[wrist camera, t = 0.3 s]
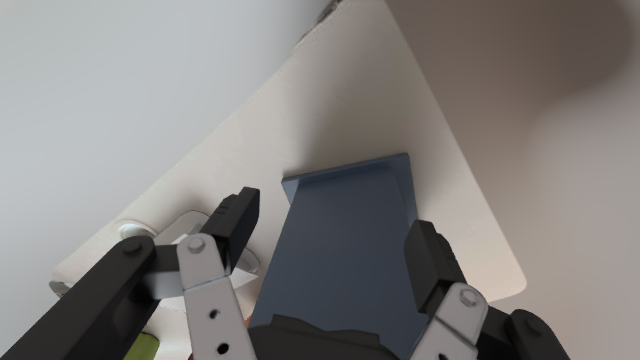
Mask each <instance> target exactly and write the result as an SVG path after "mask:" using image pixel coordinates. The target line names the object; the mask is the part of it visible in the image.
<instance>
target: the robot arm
mask: <svg viewBox="0 0 640 360" xmlns="http://www.w3.org/2000/svg"><path fill="white" fill-rule="evenodd" d="M259 205H260V190H259V189H256V188H250V187H243V189H242V190H241V192H240V193H239V195H235V194H232V195H230V196H228V197H227V198H225V199H223V201H222V202H221V203H220V205H219V207H217V209H216V210H215V211H214V213H213V214H212V215H211V216H210V218H209V219H208V220H207V222H206V223H205V224H204V226H203V227H202V228H201V229H200V231H199V232H198V233H196V234H192V235H189V236H187V237H185V238H184V239H182V240H181V241H180V242H179V244H170V245H155V243H154V241H153V239H151V238H150V237H147V236H133V237H129V238H126V239H124V240H122V241H120V242H119V243H117V244H116V245H115V246H114V247H113V248H112V249H111V250H109V251H108V252H107V253H106V254H105V255H104V256H103V257H102V258H101V259H100V260H99V261H98V262H97V263H96V264H95V265H94V266H93V267H92V268H91V269H90V270H89V271H88V272H87V273H86V274H85V275H84V276H83V277H82V278H81V279H80V280H79V281H78V282H77V283H76V284H75V285H74V286H73V287H72V288H71V289H70V290H69V291H68V292H67V293H66V294H65V295H64V296H63V297H62V298H61V299H60V300H59V301H58V302H57V303H56V304H55V305H54V306H53V307H52V308H51V309H50V310H49V311H48V312H47V313H46V314H45V315H43V316H42V317H41V319H39V320H38V321H37V322H36V323H35V325H33V326H32V327H31V328H30V329H29V330H28V331H27V332H26V333H25V334H24V335H23V336H22V337H21V338H20V339H19V340H18V341H17V342H16V343H15V344H14V345H13V346H12V347H11V348H10V349H9V350H8V351H7V352H6V353H5V354H4V355H3V356H2V357H1V358H0V360H123V359H124V358H125V356H126V355H127V353H128V352H129V350H130V349H131V347H132V345H133V344H134V342H135V341H136V339H137V338H138V336H139V334H140V333H141V331H142V330H143V328H144V327H145V325H146V323H147V322H148V320H149V319H150V317H151V316H152V314H153V312H154V311H155V309H156V308H157V306H158V305H159V303H160V301H161V300H162V299H163V298H172V297H181V296H184V302H185V309H186V315H187V321H188V327H189V334H190V340H191V346H192V352H193V359H194V360H401V359H400V358H399V357H398V356H397V355H396V354H395V353H394V352H392V351H391V350H390V349H388V348H387V347H385V346H384V345H382V344H380V337H379V334H376V333H371V332H366V331H360V330H355V329H348V330H335V331H324V330H322V329H320V328H318V327H316V326H314V325H312V324H310V323H308V322H305V321H303V320H301V319H299V318H294V317H289V316H284V315H279V314H274V313H273V317H272V320H271V322H265V323H260V324H257V325H254V326H252V327H249V328H246V325H245V322H244V319H243V316H242V313H241V310H240V307H239V304H238V301H237V298H236V295H235V292H234V289H233V286H232V283H231V280H230V277H229V275H230V276H231V274H232V272H233V270H234V268H235V266H236V264H237V262H238V260H239V258H240V256H241V254H242V252H243V250H244V248H245V246H246V244H247V242H248V240H249V238H250V236H251V234H252V232H253V230H254V228H255V226H256V224H257V221H258V218H259ZM404 256H405V260H406V265H407V269H408V273H409V277H410V282H411V286H412V290H413V294H414V299H415V303H416V307H417V311H418V313H422V314H427V315H428V318H429V320H428V322H427V323H426V325H425V327H424V328H423V330H422V332H421V333H420V335H419V337H418V339H417V340H416V342H415V344H414V345H413V347H412V349H411V350H410V352H409V354H408V355H407V357H406V359H405V360H476V359H477V360H570V358H569V357H568V355H567V353H566V352H565V350H564V349H563V347H562V345H561V344H560V343H559V341H558V339H557V337H556V336H555V334H554V332H553V331H552V330H551V328H550V327H549V326H548V325H547V324H546V323H545V322H544V321H543V320H541V318H539V317H538V316H536V315H535V314H533V313H531V312H529V311H526V310H522V309H516V310H514V311H513V312H512V313H511V314H510V315H509V314H507V313H504V312H502V311H500V310H498V309H496V308H493V307H491V306H489V305H488V303H487V301H486V299H485V298H484V297H483V295H482V294H481V293H480V292H479V291H478V290H476V289H475V288H474V287H472V286H470V285H468V284H467V281H466V279H465V277H464V275H463V273H462V271H461V268H460V266H459V264H458V262H457V260H456V259H455V255H454V253H453V252H452V249H451V247H450V245H449V242H448V241H447V240H446V239H445V238H444V237H443V236H442V235H441V234H439V233H437V232H436V230H435V228H434V225H433V223H432V222H429V221H424V220H418V219H415V220H414V222H413V224H412V226H411V228H410V231H409V233H408V235H407V237H406V240H405V242H404Z"/></svg>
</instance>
